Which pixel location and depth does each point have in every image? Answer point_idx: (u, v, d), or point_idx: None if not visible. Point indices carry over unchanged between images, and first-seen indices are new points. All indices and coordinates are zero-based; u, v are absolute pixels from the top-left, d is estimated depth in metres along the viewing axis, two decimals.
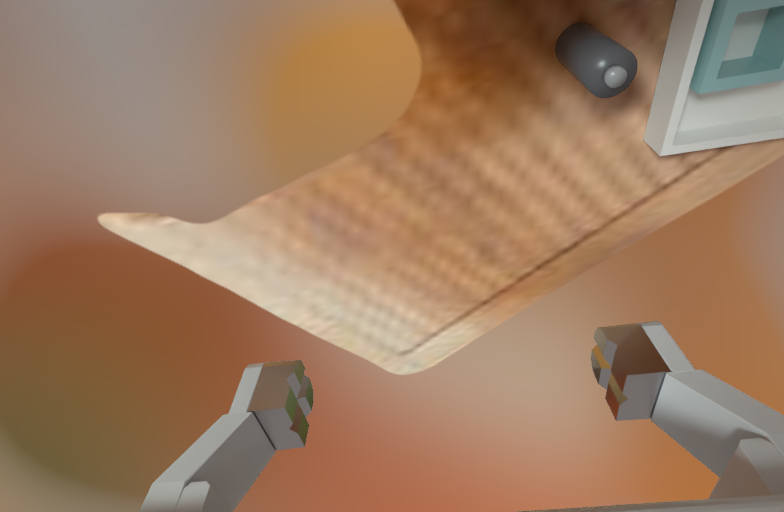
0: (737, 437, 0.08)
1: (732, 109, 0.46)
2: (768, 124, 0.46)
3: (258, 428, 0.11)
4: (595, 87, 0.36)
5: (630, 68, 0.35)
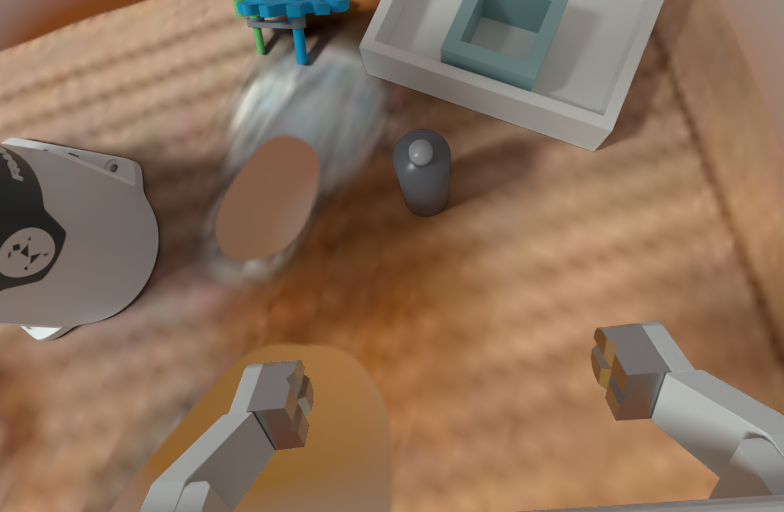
0: (737, 436, 0.08)
1: (601, 53, 0.37)
2: (641, 13, 0.36)
3: (258, 428, 0.11)
4: (426, 177, 0.29)
5: (426, 136, 0.29)
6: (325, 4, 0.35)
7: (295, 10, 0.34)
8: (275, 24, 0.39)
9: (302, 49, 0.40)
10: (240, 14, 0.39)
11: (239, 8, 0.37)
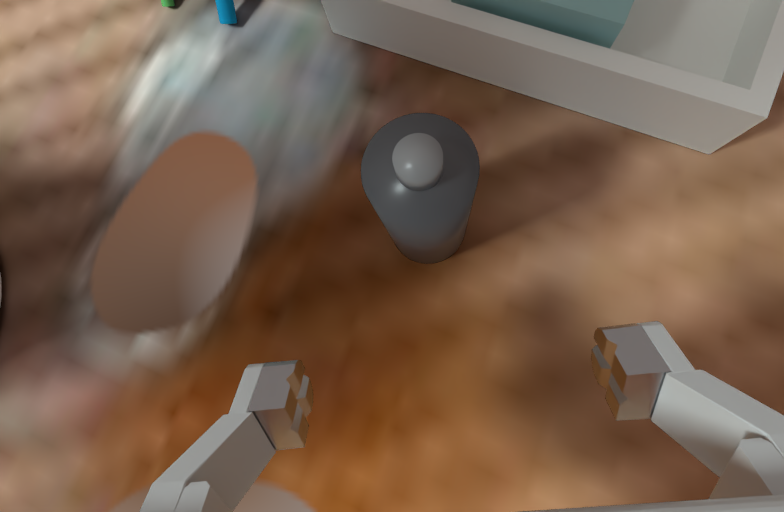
0: (737, 437, 0.08)
1: None
2: None
3: (258, 428, 0.11)
4: (430, 210, 0.14)
5: (430, 128, 0.14)
6: None
7: None
8: None
9: None
10: None
11: None
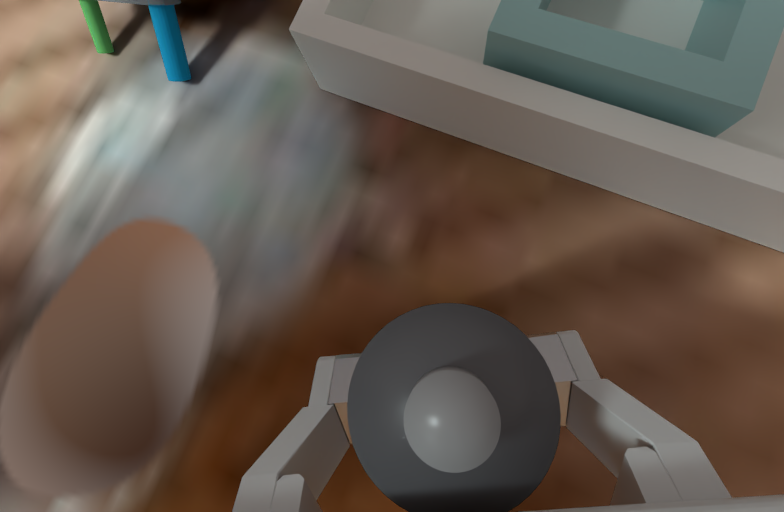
0: (631, 445, 0.09)
1: None
2: None
3: (337, 421, 0.10)
4: (471, 494, 0.08)
5: (469, 332, 0.08)
6: None
7: None
8: None
9: (173, 50, 0.19)
10: None
11: None
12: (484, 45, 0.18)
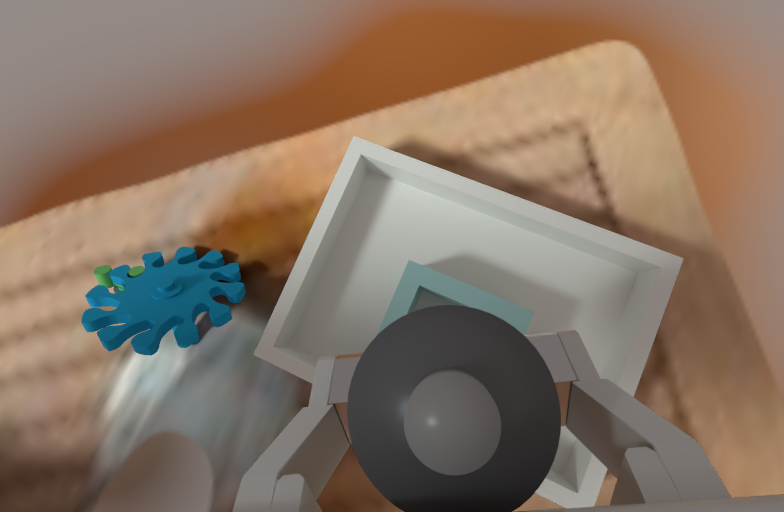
0: (631, 445, 0.09)
1: None
2: (631, 319, 0.26)
3: (337, 421, 0.10)
4: (471, 497, 0.08)
5: (470, 334, 0.08)
6: (189, 336, 0.26)
7: (143, 349, 0.25)
8: None
9: None
10: None
11: (88, 301, 0.28)
12: None
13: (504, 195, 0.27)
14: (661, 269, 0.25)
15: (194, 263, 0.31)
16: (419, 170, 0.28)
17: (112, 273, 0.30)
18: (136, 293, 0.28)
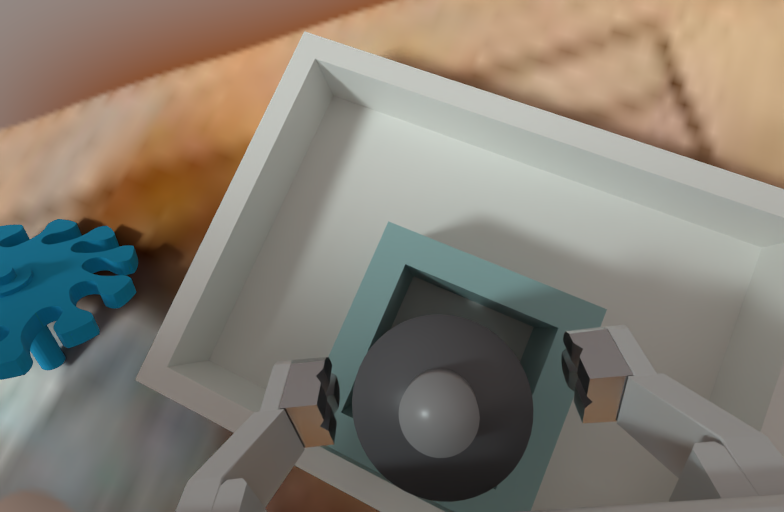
0: (694, 440, 0.08)
1: None
2: (763, 323, 0.16)
3: (289, 425, 0.10)
4: (457, 477, 0.09)
5: (456, 339, 0.10)
6: (5, 364, 0.15)
7: None
8: None
9: (40, 352, 0.20)
10: None
11: None
12: None
13: (547, 117, 0.16)
14: None
15: (66, 243, 0.20)
16: (408, 81, 0.17)
17: None
18: None
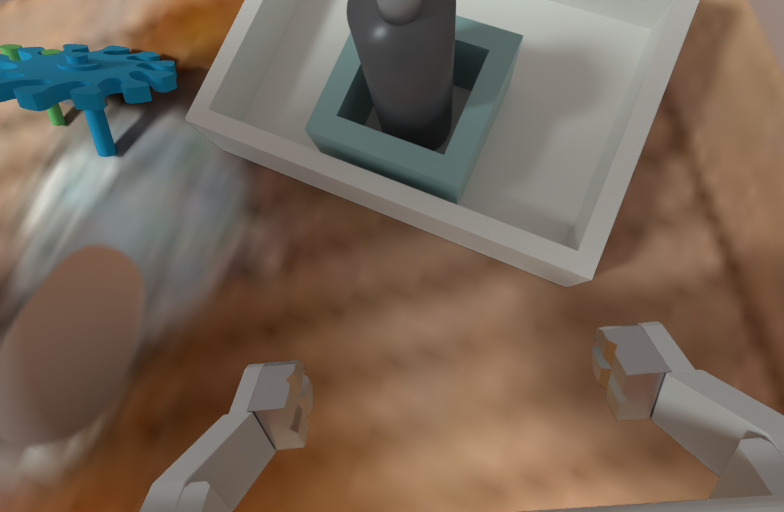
0: (737, 437, 0.08)
1: (578, 126, 0.23)
2: (643, 65, 0.22)
3: (258, 428, 0.11)
4: (409, 42, 0.15)
5: None
6: (89, 95, 0.21)
7: (27, 100, 0.20)
8: None
9: (100, 136, 0.26)
10: None
11: None
12: None
13: None
14: None
15: (122, 55, 0.26)
16: None
17: (21, 49, 0.25)
18: (41, 63, 0.24)
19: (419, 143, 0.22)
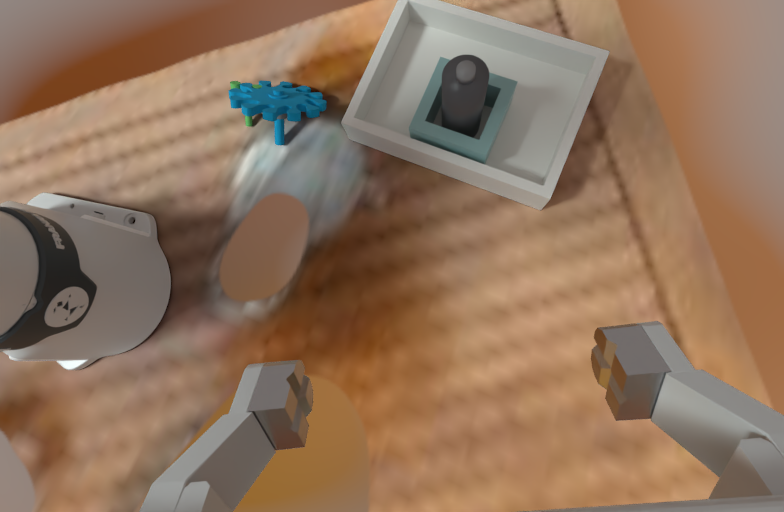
0: (737, 437, 0.08)
1: (546, 126, 0.44)
2: (579, 95, 0.42)
3: (258, 428, 0.11)
4: (469, 92, 0.36)
5: (469, 60, 0.36)
6: (296, 114, 0.41)
7: (269, 116, 0.41)
8: None
9: (280, 134, 0.47)
10: None
11: (230, 95, 0.44)
12: None
13: (499, 20, 0.43)
14: (596, 58, 0.41)
15: (292, 88, 0.47)
16: (446, 8, 0.44)
17: (242, 84, 0.46)
18: (259, 94, 0.44)
19: None
